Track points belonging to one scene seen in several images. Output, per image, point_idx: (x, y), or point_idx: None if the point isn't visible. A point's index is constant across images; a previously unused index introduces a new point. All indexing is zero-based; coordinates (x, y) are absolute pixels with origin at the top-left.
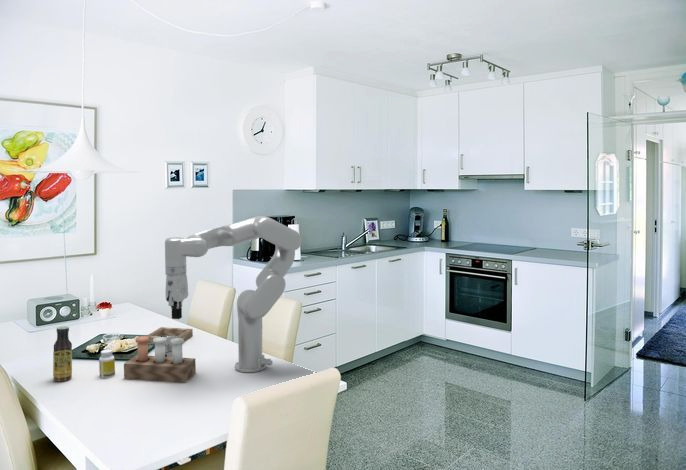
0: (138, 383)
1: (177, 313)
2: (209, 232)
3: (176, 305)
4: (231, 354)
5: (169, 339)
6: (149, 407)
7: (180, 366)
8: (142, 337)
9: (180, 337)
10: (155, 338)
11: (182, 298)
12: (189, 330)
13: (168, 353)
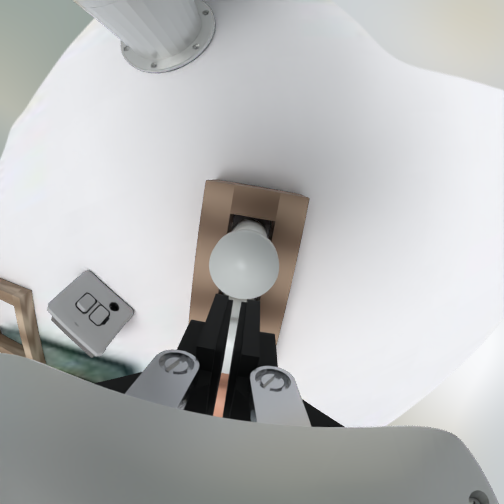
0: (296, 325)
1: (262, 346)
2: None
3: (297, 418)
4: (63, 121)
5: (69, 318)
6: (441, 248)
7: (298, 216)
8: (214, 410)
9: (10, 293)
10: (224, 367)
11: (278, 451)
12: None
13: (103, 301)
